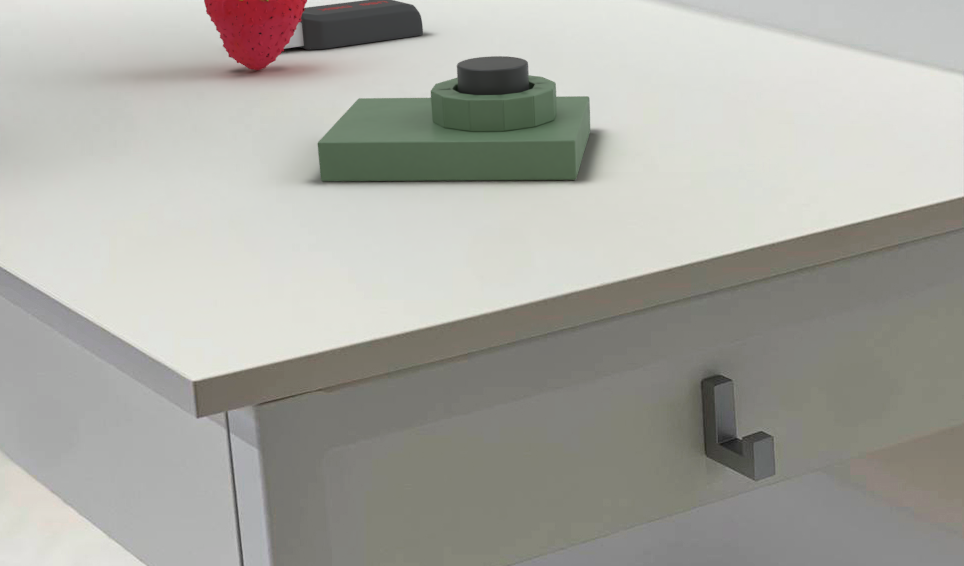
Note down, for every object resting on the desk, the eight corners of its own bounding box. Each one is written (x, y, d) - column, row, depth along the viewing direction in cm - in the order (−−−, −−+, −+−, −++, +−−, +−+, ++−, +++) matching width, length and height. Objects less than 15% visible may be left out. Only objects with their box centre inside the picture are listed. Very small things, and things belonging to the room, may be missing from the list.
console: (320, 181, 88) (314, 109, 87) (361, 133, 98) (355, 68, 97) (576, 180, 87) (574, 107, 86) (590, 132, 98) (588, 65, 96)
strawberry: (325, 72, 116) (313, -71, 112) (222, 83, 113) (206, -64, 110) (304, 59, 121) (291, -79, 117) (204, 69, 118) (188, -72, 114)
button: (453, 101, 90) (451, 70, 89) (463, 86, 93) (462, 56, 93) (525, 101, 90) (524, 69, 89) (532, 85, 93) (531, 55, 93)
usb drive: (423, 34, 129) (421, 0, 128) (286, 54, 123) (282, 17, 122) (391, 26, 133) (389, -8, 132) (256, 44, 127) (253, 9, 126)
